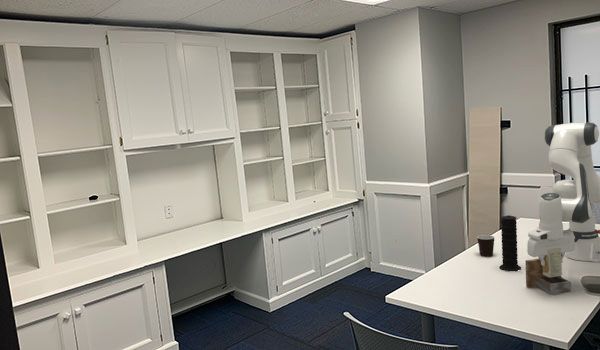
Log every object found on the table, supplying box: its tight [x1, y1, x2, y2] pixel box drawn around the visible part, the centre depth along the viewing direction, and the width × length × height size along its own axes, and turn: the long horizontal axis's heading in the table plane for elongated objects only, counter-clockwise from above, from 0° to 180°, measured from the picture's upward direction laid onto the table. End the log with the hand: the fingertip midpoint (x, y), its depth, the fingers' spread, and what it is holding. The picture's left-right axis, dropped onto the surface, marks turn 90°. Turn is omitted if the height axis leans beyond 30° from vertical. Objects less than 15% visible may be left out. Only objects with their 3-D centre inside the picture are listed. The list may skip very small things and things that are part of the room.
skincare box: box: [542, 248, 563, 278], centre depth 195 cm, size 6×4×12 cm
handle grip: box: [498, 214, 522, 272], centre depth 223 cm, size 10×26×10 cm
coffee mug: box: [476, 234, 495, 258], centre depth 247 cm, size 12×9×10 cm
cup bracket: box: [525, 257, 572, 296], centre depth 196 cm, size 16×12×12 cm
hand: (551, 263), depth 195 cm, fingers closed on skincare box, 6 cm apart
